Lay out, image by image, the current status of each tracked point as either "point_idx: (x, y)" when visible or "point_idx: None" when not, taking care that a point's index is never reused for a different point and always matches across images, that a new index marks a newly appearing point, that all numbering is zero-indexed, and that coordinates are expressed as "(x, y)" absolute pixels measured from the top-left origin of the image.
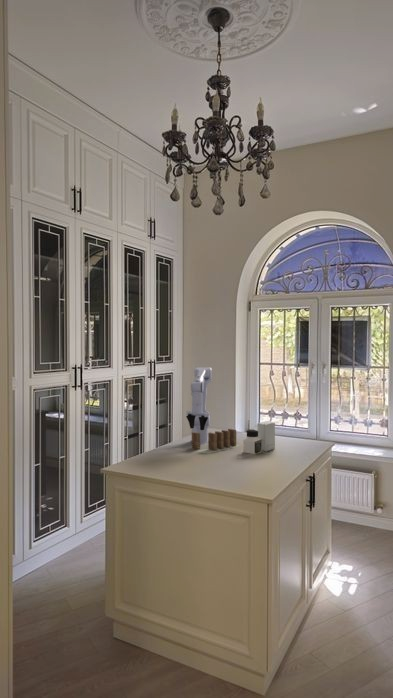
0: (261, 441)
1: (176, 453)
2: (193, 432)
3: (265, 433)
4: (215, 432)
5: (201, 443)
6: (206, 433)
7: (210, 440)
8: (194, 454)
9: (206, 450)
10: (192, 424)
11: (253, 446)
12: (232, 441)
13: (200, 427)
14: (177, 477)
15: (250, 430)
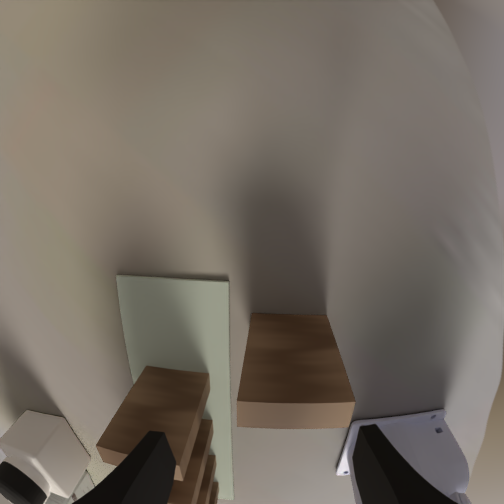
0: None
1: (299, 117)
2: (332, 411)
3: None
4: (185, 499)
5: (352, 426)
6: (355, 497)
7: (166, 414)
8: (171, 208)
9: (189, 342)
10: (369, 486)
11: (11, 429)
12: None
13: (142, 453)
14: None
15: (2, 489)
